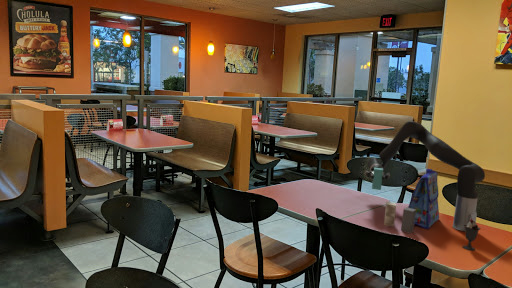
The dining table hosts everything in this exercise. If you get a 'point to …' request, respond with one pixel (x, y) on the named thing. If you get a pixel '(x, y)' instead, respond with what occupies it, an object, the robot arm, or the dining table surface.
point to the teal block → (377, 178)
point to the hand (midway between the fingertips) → (377, 177)
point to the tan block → (390, 214)
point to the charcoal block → (408, 220)
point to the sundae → (471, 233)
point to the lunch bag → (426, 200)
